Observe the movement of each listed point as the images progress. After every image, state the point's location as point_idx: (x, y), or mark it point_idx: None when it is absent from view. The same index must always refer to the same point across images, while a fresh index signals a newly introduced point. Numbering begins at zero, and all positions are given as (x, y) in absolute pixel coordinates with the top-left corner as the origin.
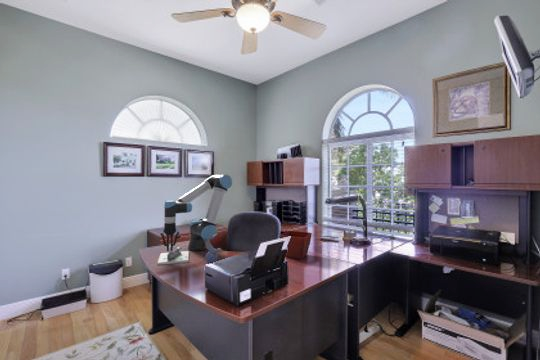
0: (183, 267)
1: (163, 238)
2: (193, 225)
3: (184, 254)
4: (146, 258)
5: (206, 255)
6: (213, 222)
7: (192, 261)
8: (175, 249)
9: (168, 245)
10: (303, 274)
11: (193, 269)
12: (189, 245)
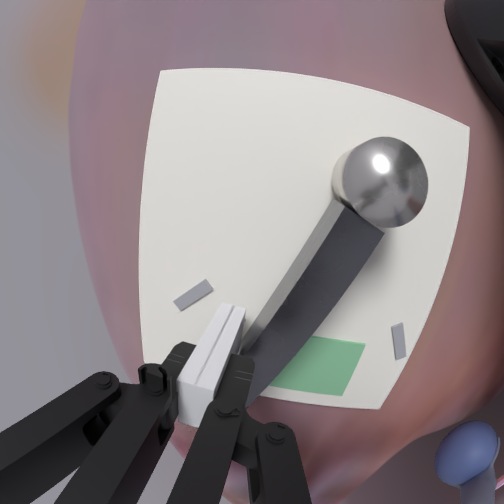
0: (311, 451)
1: (37, 483)
2: None
3: (414, 244)
4: (71, 148)
5: (443, 476)
6: None
7: (404, 392)
8: (319, 260)
9: (166, 435)
10: (498, 482)
11: (345, 473)
12: (485, 32)
